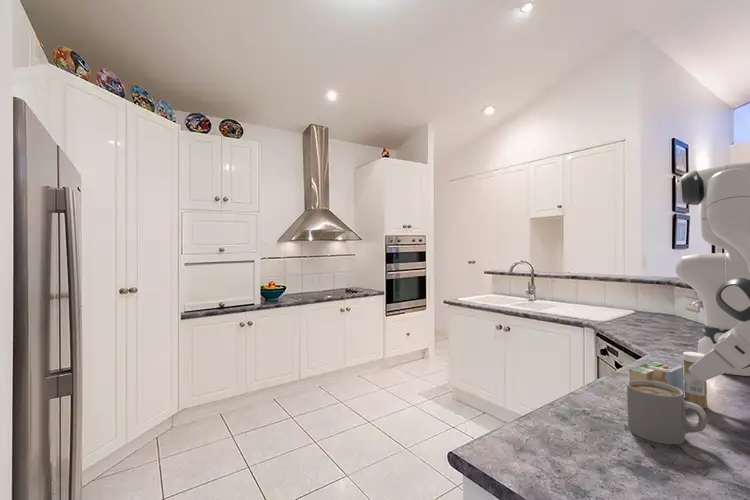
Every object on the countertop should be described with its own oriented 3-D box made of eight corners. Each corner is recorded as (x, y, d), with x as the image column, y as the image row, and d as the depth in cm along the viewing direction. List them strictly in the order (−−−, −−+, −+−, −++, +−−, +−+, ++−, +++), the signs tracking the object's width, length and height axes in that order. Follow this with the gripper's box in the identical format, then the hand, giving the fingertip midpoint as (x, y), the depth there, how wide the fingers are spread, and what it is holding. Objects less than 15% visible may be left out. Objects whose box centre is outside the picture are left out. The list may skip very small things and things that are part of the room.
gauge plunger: (663, 390, 103) (662, 360, 103) (684, 395, 99) (683, 364, 99) (649, 397, 98) (648, 366, 98) (670, 403, 94) (669, 370, 94)
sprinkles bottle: (710, 406, 93) (708, 353, 93) (704, 410, 90) (702, 356, 90) (687, 400, 97) (686, 350, 97) (681, 404, 94) (679, 352, 94)
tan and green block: (652, 385, 108) (651, 361, 108) (668, 389, 104) (668, 364, 104) (629, 395, 100) (629, 369, 100) (646, 400, 97) (645, 373, 97)
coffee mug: (620, 430, 81) (619, 386, 81) (638, 418, 87) (637, 376, 87) (698, 457, 70) (696, 406, 70) (712, 441, 76) (711, 394, 76)
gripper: (743, 331, 93) (696, 360, 101) (715, 343, 83) (664, 374, 91) (768, 353, 89) (717, 380, 98) (742, 368, 79) (687, 397, 87)
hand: (691, 377), depth 94 cm, fingers open, 5 cm apart
